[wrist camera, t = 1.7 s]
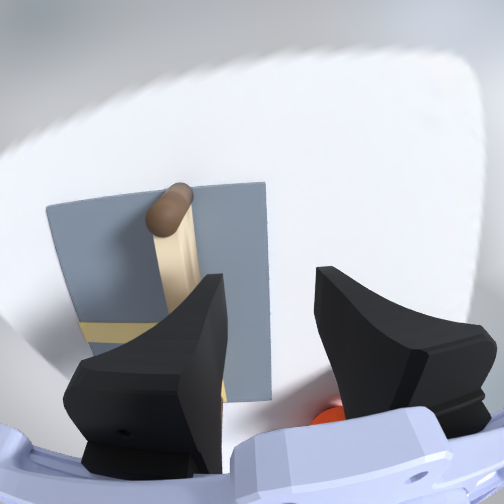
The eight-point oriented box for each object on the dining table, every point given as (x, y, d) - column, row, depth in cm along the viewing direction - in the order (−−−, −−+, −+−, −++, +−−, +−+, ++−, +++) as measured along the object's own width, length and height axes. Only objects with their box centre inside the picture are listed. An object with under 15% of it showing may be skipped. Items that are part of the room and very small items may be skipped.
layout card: (271, 396, 26) (271, 400, 26) (114, 395, 26) (113, 399, 26) (264, 182, 18) (265, 183, 18) (46, 205, 18) (43, 208, 18)
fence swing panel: (210, 322, 21) (204, 368, 17) (187, 322, 21) (178, 368, 17) (192, 181, 17) (177, 202, 13) (165, 183, 17) (142, 205, 13)
